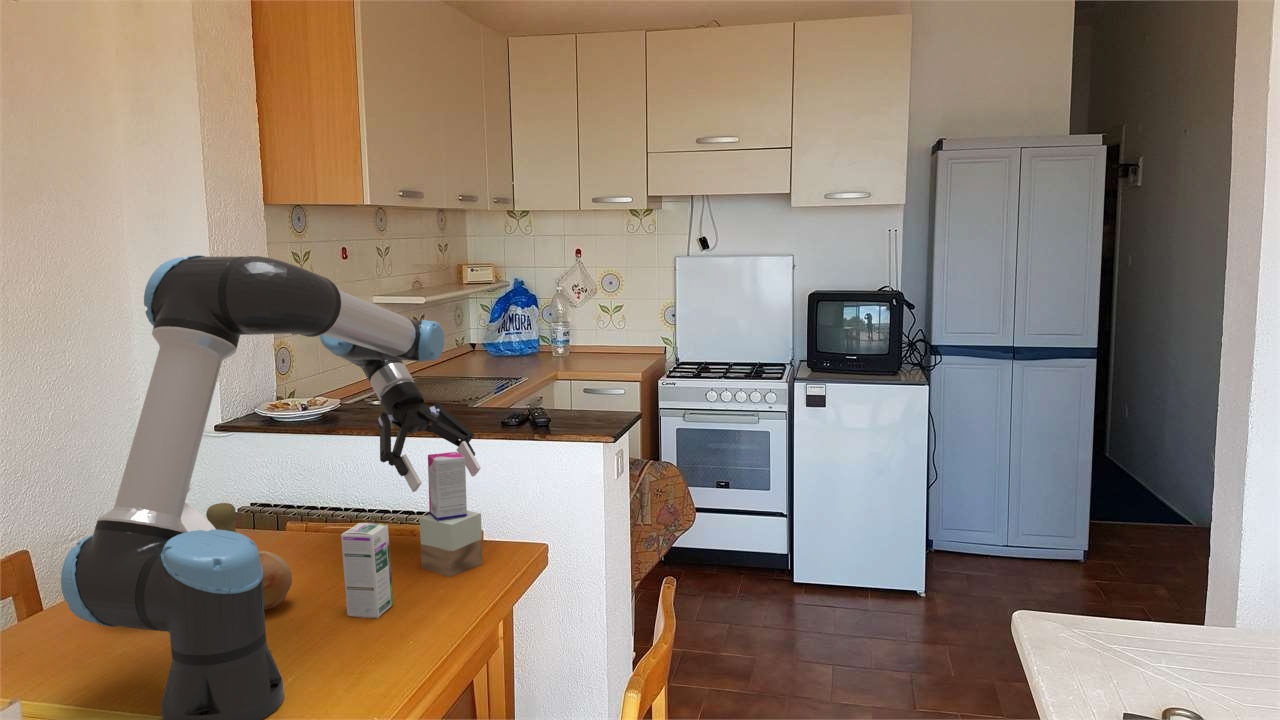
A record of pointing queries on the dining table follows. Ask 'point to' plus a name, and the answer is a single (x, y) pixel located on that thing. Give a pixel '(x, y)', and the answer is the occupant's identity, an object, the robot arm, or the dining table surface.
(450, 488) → the supplement box
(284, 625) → the dining table surface
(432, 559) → the tower base slab
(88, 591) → the robot arm
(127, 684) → the dining table surface
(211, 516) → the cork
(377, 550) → the syrup box
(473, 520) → the tower top slab
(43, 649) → the dining table surface
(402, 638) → the dining table surface
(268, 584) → the onion
